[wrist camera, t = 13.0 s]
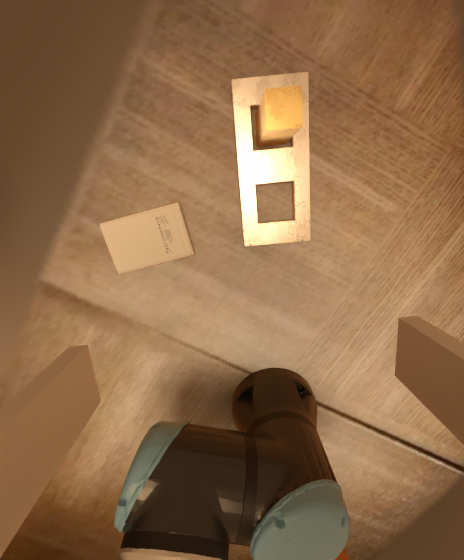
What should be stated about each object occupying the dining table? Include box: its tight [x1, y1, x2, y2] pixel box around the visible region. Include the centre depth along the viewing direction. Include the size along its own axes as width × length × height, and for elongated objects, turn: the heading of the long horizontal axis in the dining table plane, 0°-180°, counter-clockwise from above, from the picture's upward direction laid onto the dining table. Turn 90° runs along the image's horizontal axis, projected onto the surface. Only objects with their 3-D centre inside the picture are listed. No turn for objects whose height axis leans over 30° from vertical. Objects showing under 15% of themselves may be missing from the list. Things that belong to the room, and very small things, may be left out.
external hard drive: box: [99, 202, 195, 274], centre depth 44 cm, size 2×8×12 cm
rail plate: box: [231, 72, 310, 246], centre depth 41 cm, size 22×10×2 cm, turn 5°
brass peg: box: [255, 85, 303, 147], centre depth 35 cm, size 4×4×10 cm
